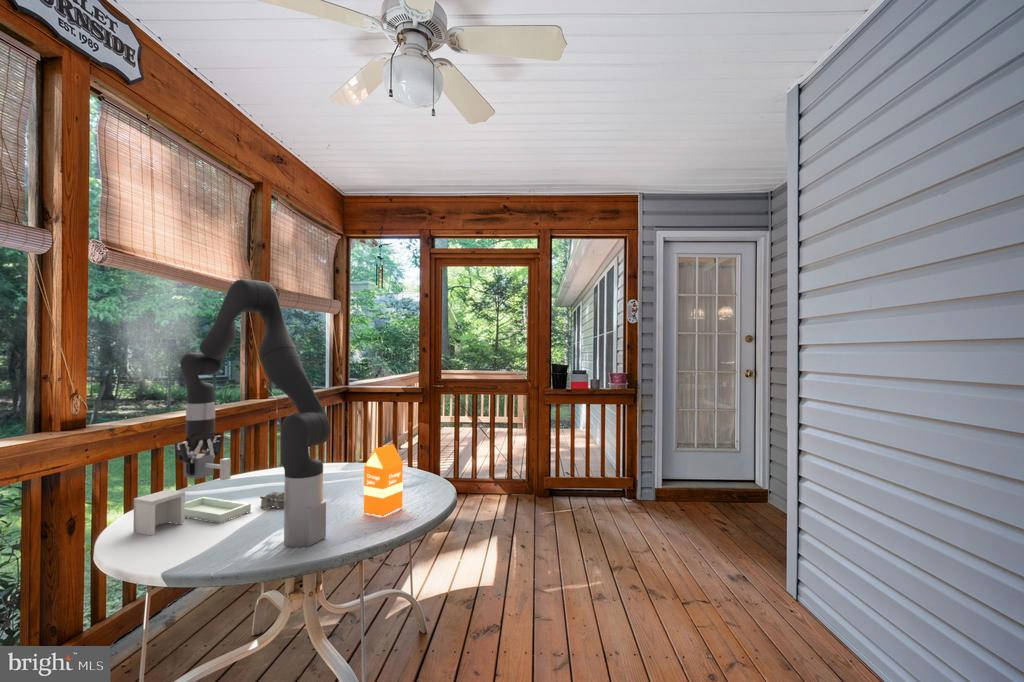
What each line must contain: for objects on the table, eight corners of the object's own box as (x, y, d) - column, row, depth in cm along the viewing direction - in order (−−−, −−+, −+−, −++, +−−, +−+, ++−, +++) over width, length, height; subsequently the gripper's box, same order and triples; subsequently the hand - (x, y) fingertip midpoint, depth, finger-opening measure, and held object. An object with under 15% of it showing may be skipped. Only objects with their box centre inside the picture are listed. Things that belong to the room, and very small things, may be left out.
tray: (250, 512, 143) (250, 503, 143) (220, 523, 134) (220, 514, 134) (203, 504, 150) (203, 496, 150) (171, 515, 140) (171, 506, 140)
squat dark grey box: (234, 477, 142) (235, 457, 142) (219, 481, 137) (219, 461, 137) (199, 472, 147) (199, 453, 147) (183, 476, 142) (183, 457, 142)
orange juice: (363, 514, 141) (363, 447, 141) (384, 505, 149) (384, 442, 149) (382, 518, 138) (383, 450, 138) (403, 509, 145) (403, 445, 146)
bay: (184, 523, 133) (184, 491, 134) (150, 535, 125) (151, 501, 125) (167, 520, 136) (167, 489, 136) (133, 532, 127) (133, 498, 127)
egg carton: (257, 510, 146) (257, 496, 146) (268, 502, 153) (268, 489, 153) (293, 508, 147) (293, 495, 147) (302, 501, 154) (301, 488, 154)
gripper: (186, 421, 136) (185, 480, 135) (230, 414, 149) (230, 468, 149) (168, 420, 138) (167, 478, 138) (213, 413, 152) (213, 466, 151)
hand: (200, 472), depth 143 cm, fingers closed on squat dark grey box, 5 cm apart
